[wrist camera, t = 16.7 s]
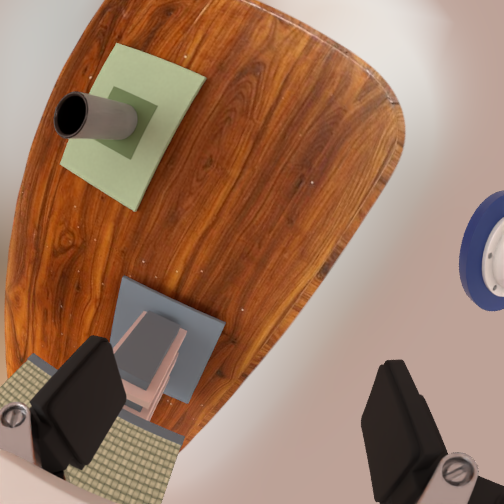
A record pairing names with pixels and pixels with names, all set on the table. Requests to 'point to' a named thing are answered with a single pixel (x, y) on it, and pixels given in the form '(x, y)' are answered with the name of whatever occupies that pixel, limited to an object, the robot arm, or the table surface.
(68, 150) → the mat
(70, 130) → the gray hollow cylinder
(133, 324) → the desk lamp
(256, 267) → the table surface
